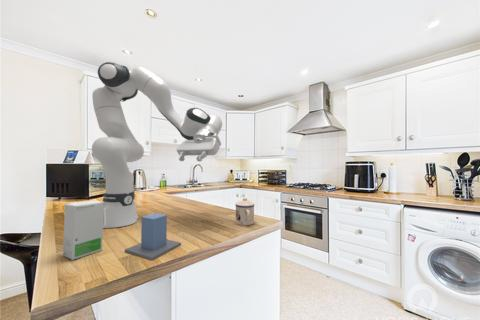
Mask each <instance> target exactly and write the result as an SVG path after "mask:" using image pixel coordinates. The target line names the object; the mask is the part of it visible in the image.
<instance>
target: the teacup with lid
mask: <svg viewBox="0 0 480 320" xmlns="http://www.w3.org/2000/svg"><path fill="white" fill-rule="evenodd" d="M235 223H236V224H237V225H239V226H250V225H251V226H252V225H253V224H254V223H255V203H254V202H253V201H250V200H249V199H248V198H247V197H243V198H242V199H241V200H239V201H238V202H236V203H235Z"/></svg>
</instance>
